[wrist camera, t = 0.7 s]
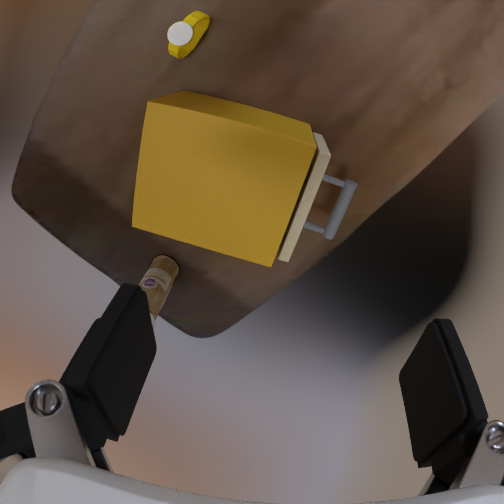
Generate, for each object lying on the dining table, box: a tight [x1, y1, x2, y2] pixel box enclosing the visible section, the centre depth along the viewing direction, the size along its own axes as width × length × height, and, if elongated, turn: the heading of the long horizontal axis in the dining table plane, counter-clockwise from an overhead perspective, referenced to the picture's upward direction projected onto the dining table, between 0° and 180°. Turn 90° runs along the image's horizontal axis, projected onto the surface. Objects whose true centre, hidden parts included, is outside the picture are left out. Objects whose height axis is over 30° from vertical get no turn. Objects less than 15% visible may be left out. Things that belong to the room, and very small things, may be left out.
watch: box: [167, 11, 210, 58], centre depth 28 cm, size 6×3×6 cm, turn 146°
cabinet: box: [132, 90, 317, 267], centre depth 35 cm, size 16×14×11 cm
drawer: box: [278, 132, 357, 262], centre depth 35 cm, size 19×13×9 cm, turn 75°
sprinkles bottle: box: [139, 255, 179, 327], centre depth 44 cm, size 5×5×14 cm
